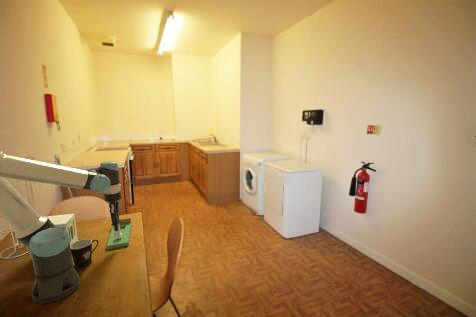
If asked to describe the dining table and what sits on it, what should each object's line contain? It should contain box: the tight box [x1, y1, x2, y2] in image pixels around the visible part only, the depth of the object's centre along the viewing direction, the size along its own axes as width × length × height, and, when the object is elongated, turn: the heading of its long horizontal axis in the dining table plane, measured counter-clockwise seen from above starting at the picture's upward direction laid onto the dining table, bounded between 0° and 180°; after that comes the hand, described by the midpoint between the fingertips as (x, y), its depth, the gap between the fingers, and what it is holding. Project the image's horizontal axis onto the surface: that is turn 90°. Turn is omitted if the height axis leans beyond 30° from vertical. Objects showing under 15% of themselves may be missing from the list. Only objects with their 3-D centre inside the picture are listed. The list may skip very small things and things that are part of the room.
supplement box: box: [46, 213, 79, 245], centre depth 117 cm, size 13×13×18 cm
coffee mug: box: [70, 238, 99, 269], centre depth 109 cm, size 12×9×10 cm
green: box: [106, 217, 132, 250], centre depth 134 cm, size 26×10×5 cm, turn 21°
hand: (117, 235), depth 122 cm, fingers closed
